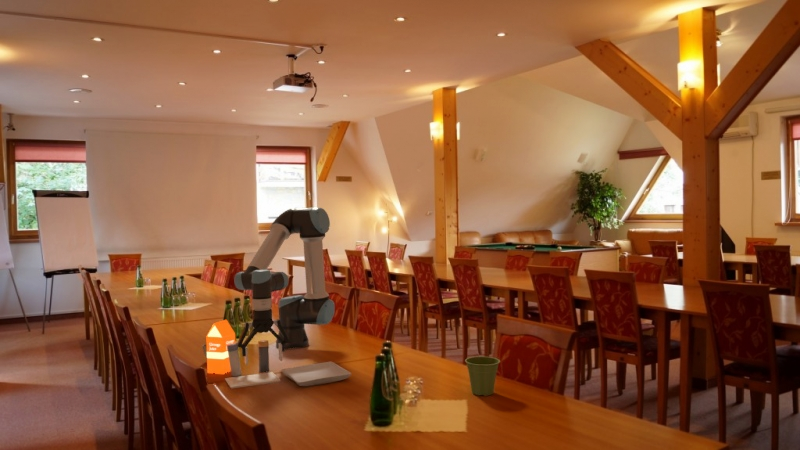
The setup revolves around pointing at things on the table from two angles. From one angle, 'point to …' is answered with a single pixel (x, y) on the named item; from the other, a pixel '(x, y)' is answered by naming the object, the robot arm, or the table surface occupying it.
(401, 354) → the table surface
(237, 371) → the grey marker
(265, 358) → the marker
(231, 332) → the orange juice
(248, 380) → the paper
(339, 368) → the salad plate
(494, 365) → the plant pot
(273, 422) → the table surface
